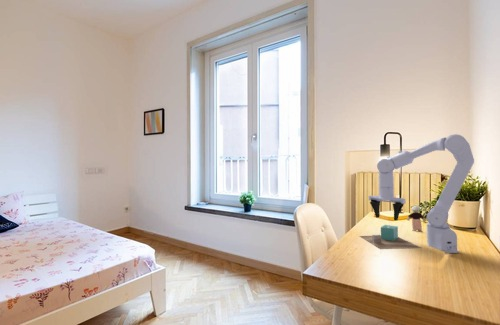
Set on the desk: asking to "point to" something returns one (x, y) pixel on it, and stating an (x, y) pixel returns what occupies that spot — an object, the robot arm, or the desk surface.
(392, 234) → the teal mini fridge
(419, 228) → the grandmother figurine
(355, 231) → the desk surface
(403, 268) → the desk surface
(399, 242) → the plate
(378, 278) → the desk surface
